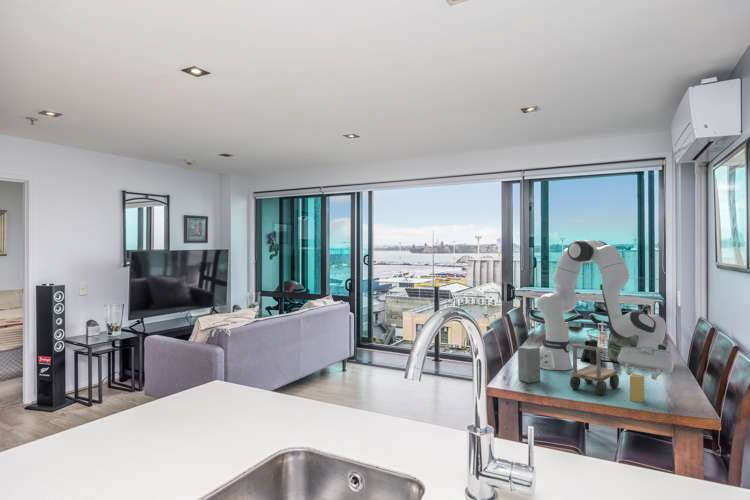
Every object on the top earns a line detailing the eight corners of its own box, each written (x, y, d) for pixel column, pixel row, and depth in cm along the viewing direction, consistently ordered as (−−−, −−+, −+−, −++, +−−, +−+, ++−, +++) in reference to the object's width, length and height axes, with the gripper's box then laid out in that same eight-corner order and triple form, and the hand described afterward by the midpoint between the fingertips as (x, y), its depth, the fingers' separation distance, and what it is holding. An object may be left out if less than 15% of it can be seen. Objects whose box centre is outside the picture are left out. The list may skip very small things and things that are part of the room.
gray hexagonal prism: (528, 383, 205) (528, 349, 205) (516, 379, 212) (516, 346, 212) (541, 381, 209) (541, 347, 209) (529, 377, 216) (529, 344, 216)
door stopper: (602, 363, 239) (602, 341, 239) (594, 365, 236) (594, 342, 236) (588, 360, 247) (587, 338, 247) (580, 361, 245) (580, 339, 245)
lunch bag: (630, 368, 230) (630, 325, 230) (602, 359, 248) (601, 320, 247) (667, 363, 239) (667, 322, 238) (637, 355, 256) (637, 317, 256)
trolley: (570, 390, 196) (569, 343, 196) (589, 380, 209) (589, 337, 209) (600, 397, 186) (600, 348, 186) (619, 386, 199) (618, 341, 199)
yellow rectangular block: (630, 400, 182) (629, 375, 182) (633, 398, 185) (633, 373, 185) (640, 402, 179) (640, 377, 179) (644, 400, 182) (644, 375, 182)
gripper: (620, 341, 197) (611, 367, 190) (674, 348, 182) (667, 377, 175) (624, 349, 200) (616, 375, 193) (677, 357, 185) (670, 385, 178)
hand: (640, 376), depth 184 cm, fingers open, 8 cm apart
